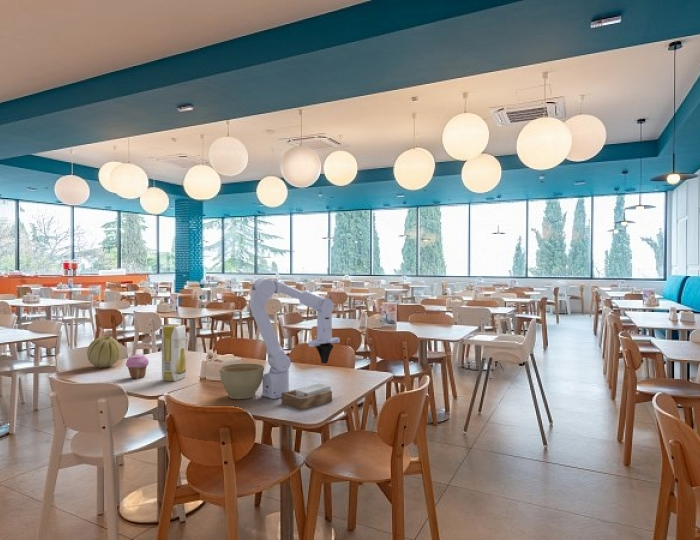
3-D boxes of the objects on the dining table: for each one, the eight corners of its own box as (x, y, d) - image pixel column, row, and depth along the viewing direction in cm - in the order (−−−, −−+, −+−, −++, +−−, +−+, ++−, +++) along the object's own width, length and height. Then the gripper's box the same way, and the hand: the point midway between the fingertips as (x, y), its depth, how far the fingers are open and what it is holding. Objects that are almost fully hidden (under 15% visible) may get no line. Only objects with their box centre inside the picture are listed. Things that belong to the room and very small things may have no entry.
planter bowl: (273, 395, 176) (273, 366, 176) (236, 405, 164) (236, 374, 164) (247, 388, 187) (247, 360, 187) (211, 396, 175) (210, 367, 174)
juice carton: (176, 382, 197) (176, 324, 197) (159, 381, 198) (158, 324, 198) (188, 376, 206) (188, 322, 206) (171, 376, 207) (171, 321, 207)
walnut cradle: (301, 409, 159) (301, 399, 159) (281, 403, 166) (281, 392, 166) (331, 401, 169) (331, 391, 168) (311, 395, 176) (311, 385, 176)
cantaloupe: (98, 363, 234) (97, 333, 234) (127, 364, 233) (126, 333, 233) (79, 370, 219) (79, 338, 219) (110, 370, 218) (110, 338, 218)
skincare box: (319, 394, 175) (295, 402, 166) (319, 382, 175) (294, 389, 166) (331, 397, 171) (307, 405, 162) (331, 384, 171) (306, 392, 162)
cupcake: (137, 380, 199) (137, 357, 199) (121, 379, 202) (121, 355, 202) (152, 376, 208) (152, 353, 208) (137, 374, 211) (136, 352, 210)
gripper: (316, 331, 177) (316, 367, 177) (344, 327, 187) (344, 361, 187) (305, 329, 182) (305, 364, 182) (333, 326, 192) (333, 359, 193)
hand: (324, 362), depth 185 cm, fingers closed
